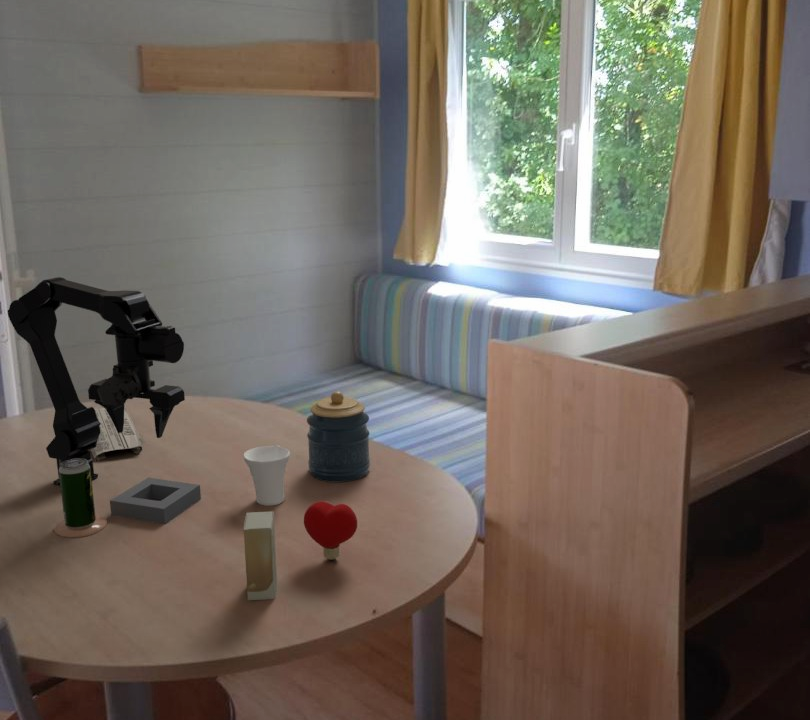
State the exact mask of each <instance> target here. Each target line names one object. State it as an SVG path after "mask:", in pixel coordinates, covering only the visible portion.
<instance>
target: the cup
mask: <svg viewBox="0 0 810 720" xmlns="http://www.w3.org/2000/svg"><path fill="white" fill-rule="evenodd" d="M290 456H291V451H290V450H289V449H287V448H286V447H282V446H280V445H279V444H276V445H266V446H265V445H263V446H257V447H253V448H250V449H248V450H246V451H245V452H244V454H243V455H242V457H243V459H244V462H245V464H246V465H247V467H248V469H249V472H250V475H251V477H252V481H253V485H254V486H253V487H254V489H255V499H256V500H255V502H257V503H258V504H259V505H261V506H266V507H267V506H269V507H270V506H277V505H279V504H281V503H283V502H284V501H285V498H286V497H285V489H284V488H285V483H284V482H285V481H284V479H285V473H286V467H287V463H288V461H289V458H290Z"/></svg>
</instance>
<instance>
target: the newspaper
mask: <svg viewBox="0 0 810 720" xmlns="http://www.w3.org/2000/svg"><path fill="white" fill-rule="evenodd" d="M94 409H95V412H96V416H97V418H98V420H99V422H100V423H101V425H99V427H100V434H99V438H98V440H97V445H96V447H95V448H92V449H90V450H89V451H90V453H91V455H92V457H93V459H94V460H95V462H96V461H100V460H102V459H107V455H106V454H105V453H108V452H110V451H111V452H112V451H117V450H118V451H119V450H126V449H127V450H128V449H130V450H131V451H132V452H133V453H134V454H138V455H140V454H141V452H143V445H144V444H145V443H146V441H145V440H144V438H143V435H141V433H140V432H139V430H138V429H137V428H136V426H135V423H134V422H133V419H132V417H131V415H130V413H129V411H128V409H127V407H124V427H123V432H121V433H118V432H117V430H116V428H115V426H114V424H113V422H112V420H111V418H110V416H109V414H108V412H107V411H106V409H105V408H104V407H101V408H94Z"/></svg>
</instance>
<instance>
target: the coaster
mask: <svg viewBox="0 0 810 720" xmlns="http://www.w3.org/2000/svg"><path fill="white" fill-rule="evenodd" d="M95 516H96V520H95V523H94V525H93V526H91V527H89V528H87V529H83V530H70V529H68V528H67V527H66V525H65V520H64V519H63V520H61V521H59V522H58V523H57V524H56V526H55V527H54V532H55V534H56V535H57V536H59V537H62V538H69V539H74V538H75V539H76V538H78V539H79V538H83V537H89V536H92V535H95V534H96V533H99V532H101V531H103V530H104V529H105V528H106V527H107V525H108V521H107V518H105V516H102V515H98V514H95Z"/></svg>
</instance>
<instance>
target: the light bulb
mask: <svg viewBox="0 0 810 720" xmlns="http://www.w3.org/2000/svg"><path fill="white" fill-rule="evenodd" d="M303 525H304V528H305V531H306V532H307V534H308V535H309V537H310V538H311V539H312V540H314V542H316V543H317V544H318V545H319V546H321V548H323V557H324V558H325V559H327V560H329V561H335V560H336V559H337V558H339V557H340V556H341V555H340V544H344V543H345V542H347V541H349V540H350V539H351V538H352V537H353V536H354V535H355V533H356V532H357V528H358V518H357V515H356V513H355V512H354V510H353V509H352V508H351V507H350V506H349V505H347V504H345V503H339V504H335V505H334V504H332V503H330V502H327V501H325V500H320V501H315V502H313V503H312V504H311V505H309V506H308V507H307V509H306V511H305V512H304V515H303Z"/></svg>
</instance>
